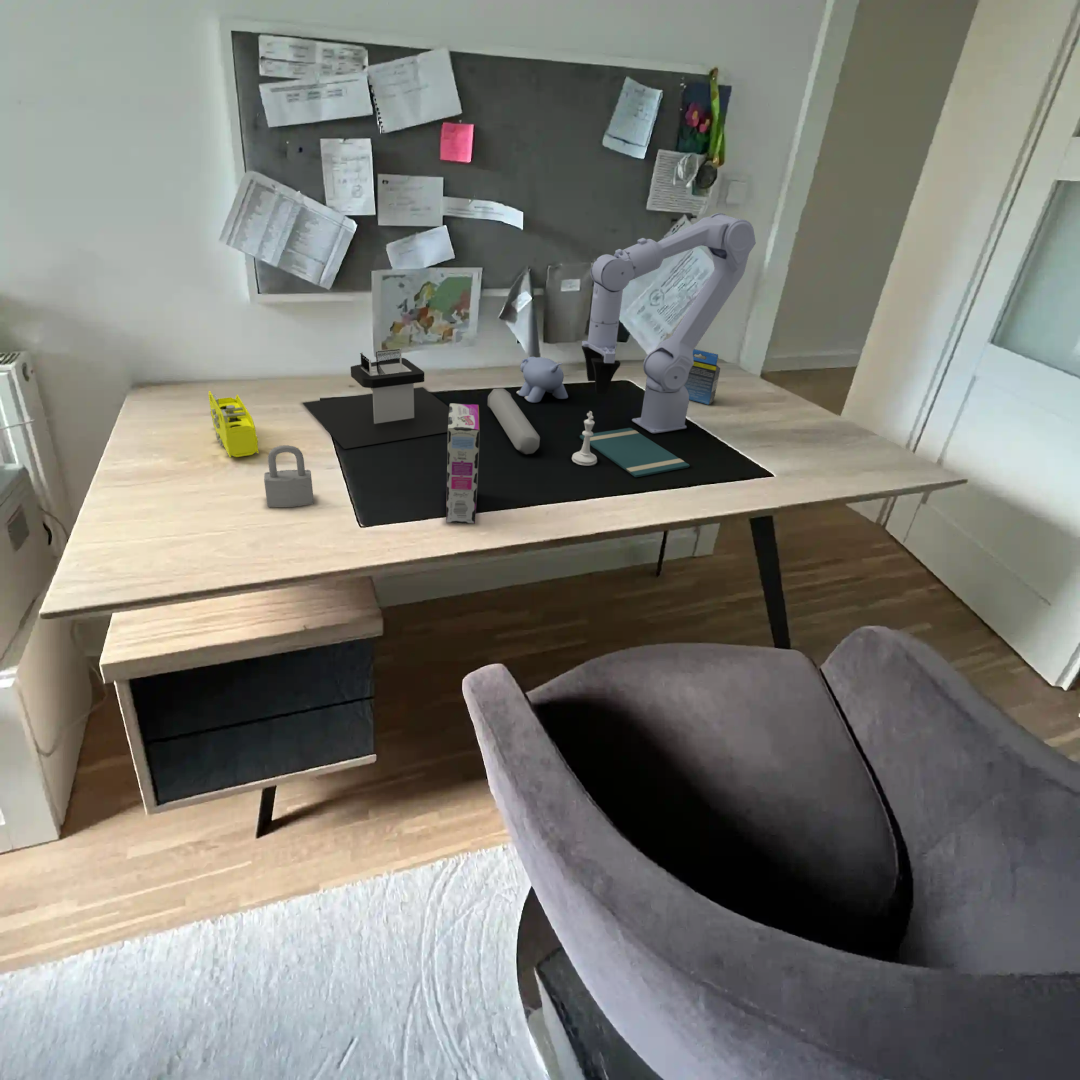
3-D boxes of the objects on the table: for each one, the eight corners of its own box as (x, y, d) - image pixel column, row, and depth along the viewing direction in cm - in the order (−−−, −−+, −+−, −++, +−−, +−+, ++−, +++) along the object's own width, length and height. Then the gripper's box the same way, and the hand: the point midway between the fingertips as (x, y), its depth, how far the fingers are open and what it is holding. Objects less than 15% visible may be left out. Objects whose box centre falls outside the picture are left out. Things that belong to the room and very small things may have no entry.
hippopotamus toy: (543, 381, 180) (546, 343, 175) (575, 401, 169) (579, 361, 164) (504, 385, 175) (506, 346, 170) (535, 407, 164) (537, 365, 159)
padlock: (313, 494, 121) (307, 439, 116) (314, 506, 118) (308, 449, 113) (268, 498, 119) (260, 441, 114) (267, 509, 116) (259, 452, 110)
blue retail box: (714, 401, 176) (724, 351, 170) (708, 405, 173) (719, 354, 167) (680, 392, 180) (689, 343, 174) (674, 396, 177) (683, 346, 171)
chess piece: (579, 467, 138) (585, 418, 133) (567, 456, 142) (573, 408, 136) (601, 464, 140) (608, 415, 135) (589, 453, 144) (595, 405, 138)
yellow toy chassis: (211, 429, 140) (204, 388, 136) (242, 425, 143) (236, 384, 139) (227, 462, 129) (220, 418, 125) (261, 457, 132) (255, 413, 127)
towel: (630, 429, 156) (630, 427, 156) (689, 467, 142) (689, 464, 141) (579, 437, 150) (579, 435, 150) (635, 477, 136) (635, 475, 136)
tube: (548, 437, 139) (514, 391, 159) (523, 430, 137) (492, 384, 157) (537, 462, 141) (505, 413, 161) (513, 455, 139) (483, 407, 159)
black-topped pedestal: (422, 387, 169) (421, 330, 162) (475, 427, 151) (477, 365, 144) (302, 403, 156) (295, 341, 149) (344, 449, 137) (339, 381, 130)
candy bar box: (477, 525, 116) (480, 429, 108) (445, 524, 116) (446, 428, 107) (476, 493, 126) (479, 402, 117) (447, 492, 125) (448, 401, 117)
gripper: (577, 310, 149) (571, 375, 156) (592, 329, 136) (585, 398, 143) (610, 311, 150) (602, 375, 157) (629, 331, 138) (619, 399, 145)
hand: (596, 386), depth 150 cm, fingers open, 7 cm apart
